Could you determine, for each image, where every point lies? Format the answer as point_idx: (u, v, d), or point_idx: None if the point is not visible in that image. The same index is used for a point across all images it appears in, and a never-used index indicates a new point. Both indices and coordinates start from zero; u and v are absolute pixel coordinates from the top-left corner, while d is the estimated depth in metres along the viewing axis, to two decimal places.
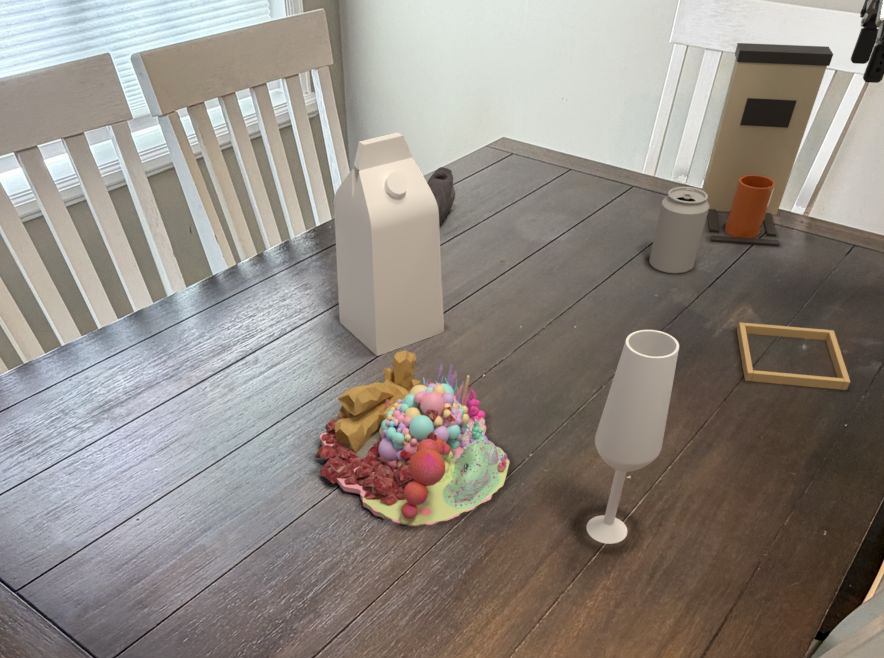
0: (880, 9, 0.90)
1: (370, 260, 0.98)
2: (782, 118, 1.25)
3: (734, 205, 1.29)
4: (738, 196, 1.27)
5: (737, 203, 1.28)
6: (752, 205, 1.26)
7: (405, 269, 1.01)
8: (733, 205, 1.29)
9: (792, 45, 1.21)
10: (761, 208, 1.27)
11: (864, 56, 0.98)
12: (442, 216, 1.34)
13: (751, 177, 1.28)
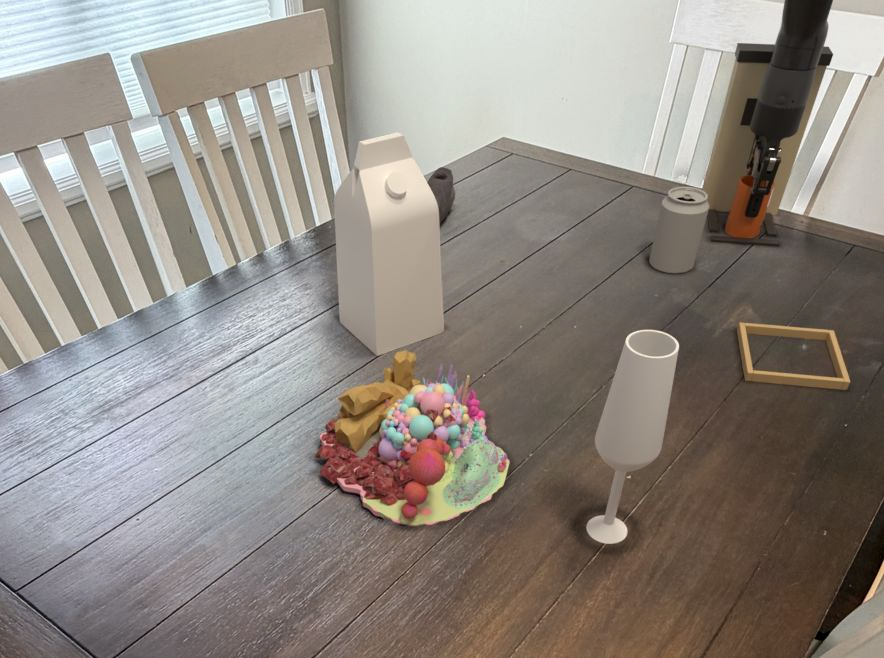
0: (754, 167, 1.22)
1: (371, 260, 0.98)
2: None
3: (734, 205, 1.29)
4: (738, 196, 1.27)
5: (737, 203, 1.28)
6: None
7: (405, 269, 1.01)
8: (733, 205, 1.29)
9: None
10: (761, 208, 1.27)
11: None
12: (442, 216, 1.34)
13: (751, 177, 1.28)
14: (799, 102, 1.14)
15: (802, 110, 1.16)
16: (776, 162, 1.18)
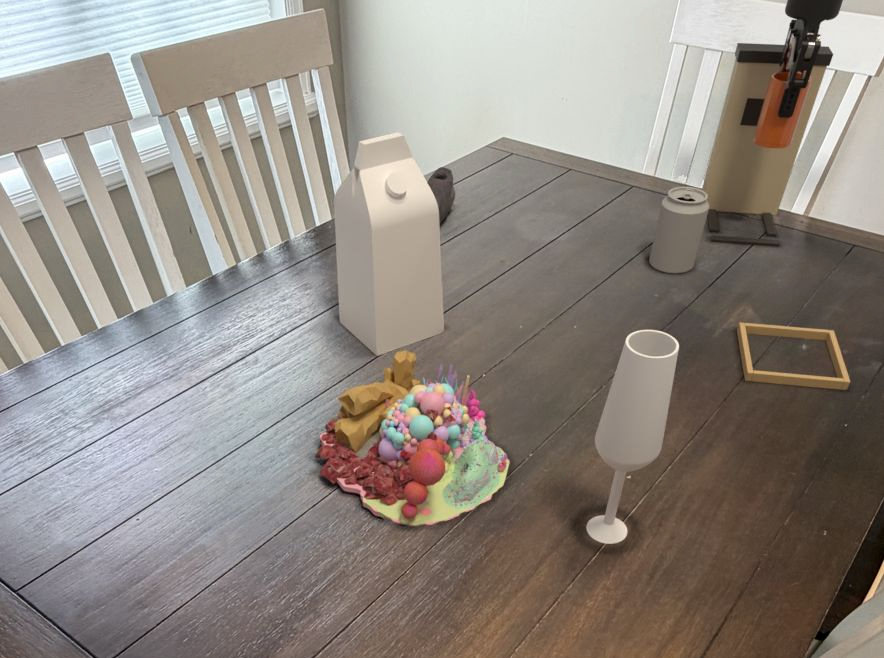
0: (790, 57, 1.10)
1: (371, 260, 0.98)
2: None
3: (766, 105, 1.16)
4: (770, 94, 1.15)
5: (769, 103, 1.16)
6: None
7: (405, 269, 1.01)
8: (764, 106, 1.17)
9: None
10: (796, 107, 1.15)
11: None
12: (442, 216, 1.34)
13: (784, 74, 1.16)
14: None
15: None
16: (815, 46, 1.05)
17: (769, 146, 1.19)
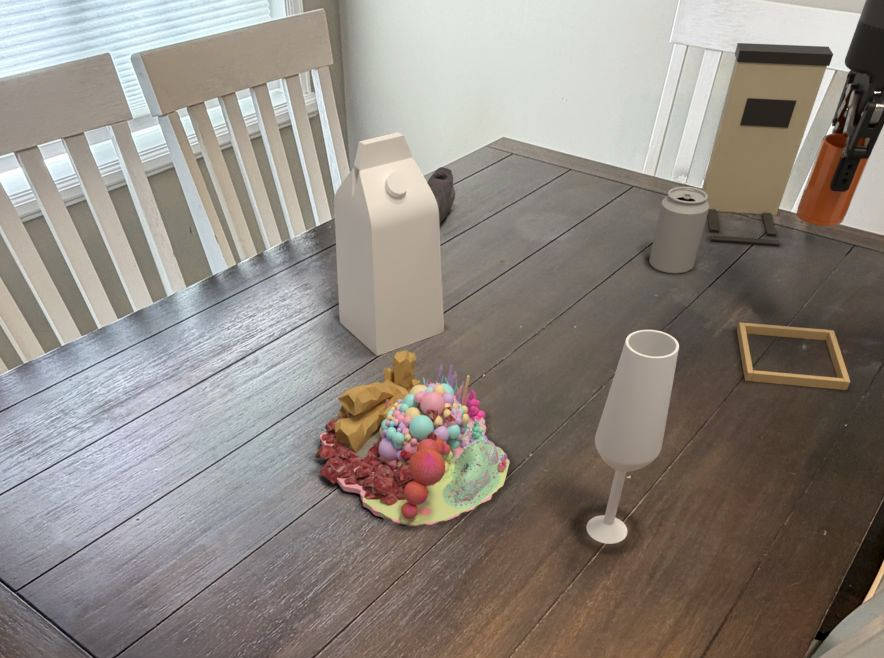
0: (849, 119, 0.87)
1: (371, 260, 0.98)
2: (782, 118, 1.25)
3: (814, 175, 0.94)
4: (821, 162, 0.92)
5: (819, 172, 0.93)
6: None
7: (405, 269, 1.01)
8: (813, 175, 0.94)
9: (792, 45, 1.21)
10: None
11: None
12: (442, 216, 1.34)
13: (839, 136, 0.93)
14: None
15: None
16: None
17: (817, 223, 0.96)
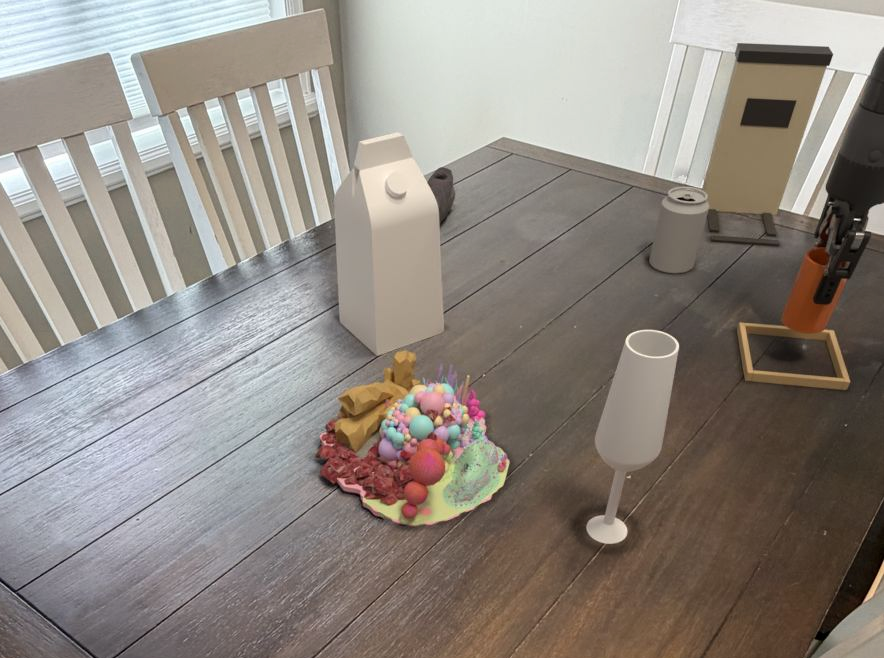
0: (830, 241, 0.90)
1: (371, 260, 0.98)
2: (782, 118, 1.25)
3: (798, 287, 0.97)
4: (804, 276, 0.95)
5: (802, 285, 0.96)
6: None
7: (405, 269, 1.01)
8: (796, 287, 0.97)
9: (792, 45, 1.21)
10: None
11: None
12: (442, 216, 1.34)
13: (821, 250, 0.96)
14: None
15: None
16: (864, 238, 0.86)
17: (801, 331, 0.99)
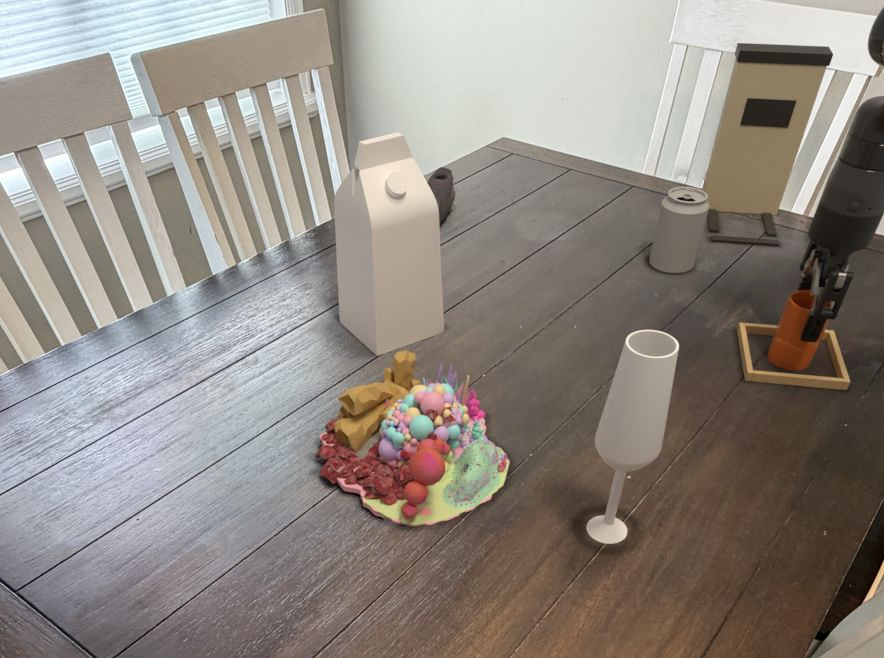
0: (813, 284, 0.94)
1: (371, 260, 0.98)
2: (782, 118, 1.25)
3: (782, 328, 1.01)
4: (788, 318, 1.00)
5: (786, 326, 1.01)
6: None
7: (405, 269, 1.01)
8: (781, 327, 1.02)
9: (792, 45, 1.21)
10: None
11: None
12: (442, 216, 1.34)
13: (804, 293, 1.01)
14: (877, 209, 0.87)
15: (880, 218, 0.88)
16: (847, 277, 0.90)
17: None
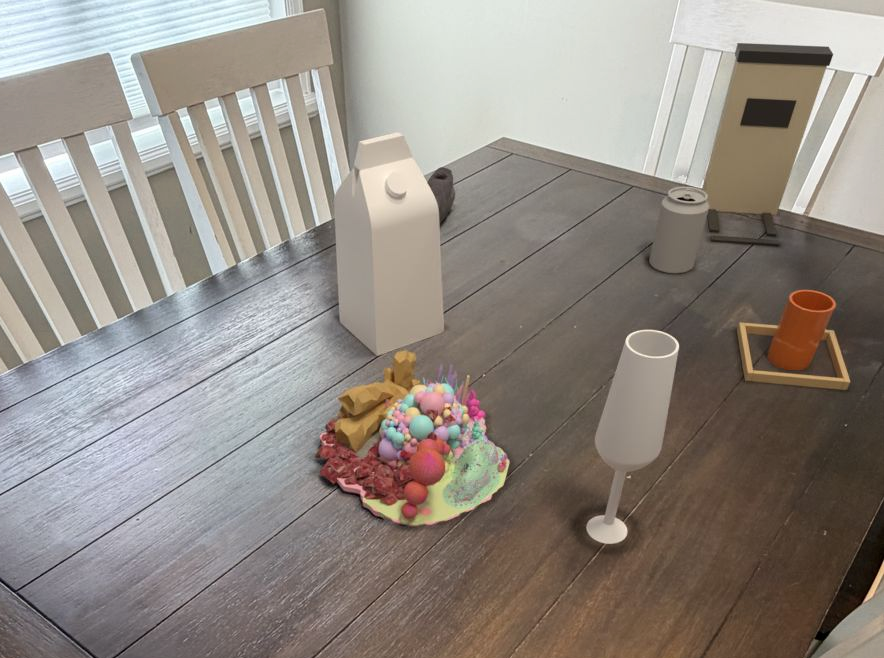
0: None
1: (371, 260, 0.98)
2: (782, 118, 1.25)
3: (782, 328, 1.01)
4: (788, 318, 1.00)
5: (786, 326, 1.01)
6: (806, 330, 0.99)
7: (405, 269, 1.01)
8: (781, 327, 1.02)
9: (792, 45, 1.21)
10: (817, 333, 1.00)
11: None
12: (442, 216, 1.34)
13: (804, 293, 1.01)
14: None
15: None
16: None
17: None
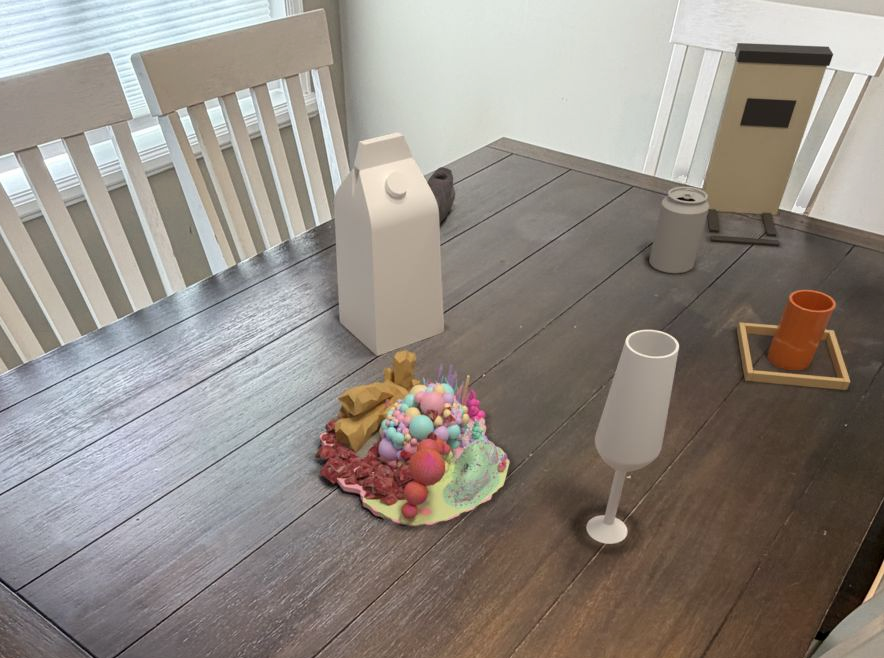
0: None
1: (371, 260, 0.98)
2: (782, 118, 1.25)
3: (782, 328, 1.01)
4: (788, 318, 1.00)
5: (786, 326, 1.01)
6: (806, 330, 0.99)
7: (405, 269, 1.01)
8: (781, 327, 1.02)
9: (792, 45, 1.21)
10: (817, 333, 1.00)
11: None
12: (442, 216, 1.34)
13: (804, 293, 1.01)
14: None
15: None
16: None
17: None
